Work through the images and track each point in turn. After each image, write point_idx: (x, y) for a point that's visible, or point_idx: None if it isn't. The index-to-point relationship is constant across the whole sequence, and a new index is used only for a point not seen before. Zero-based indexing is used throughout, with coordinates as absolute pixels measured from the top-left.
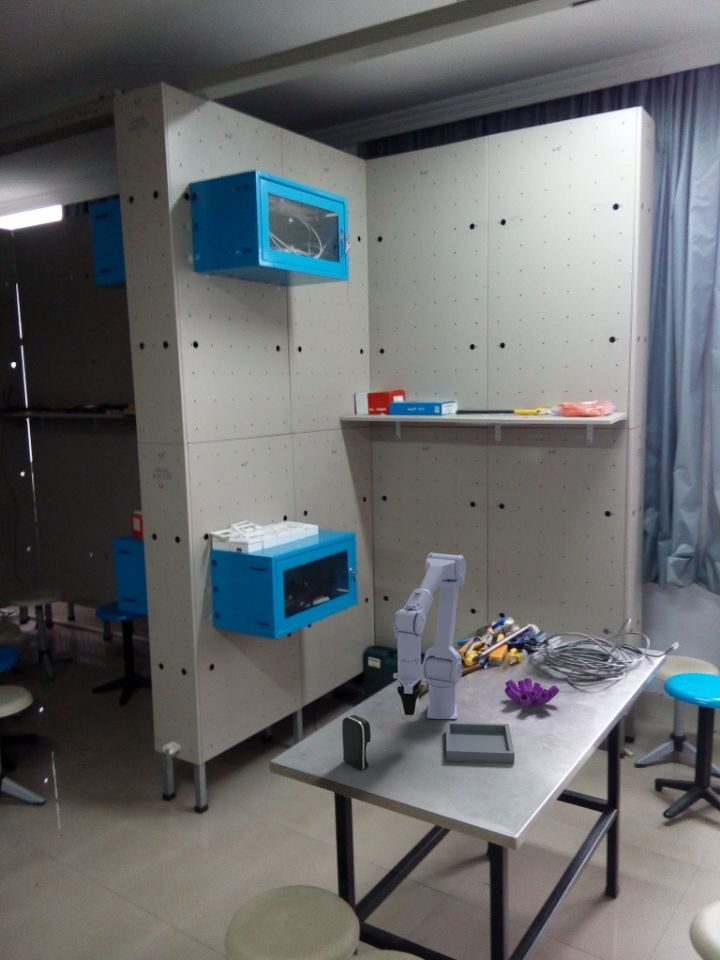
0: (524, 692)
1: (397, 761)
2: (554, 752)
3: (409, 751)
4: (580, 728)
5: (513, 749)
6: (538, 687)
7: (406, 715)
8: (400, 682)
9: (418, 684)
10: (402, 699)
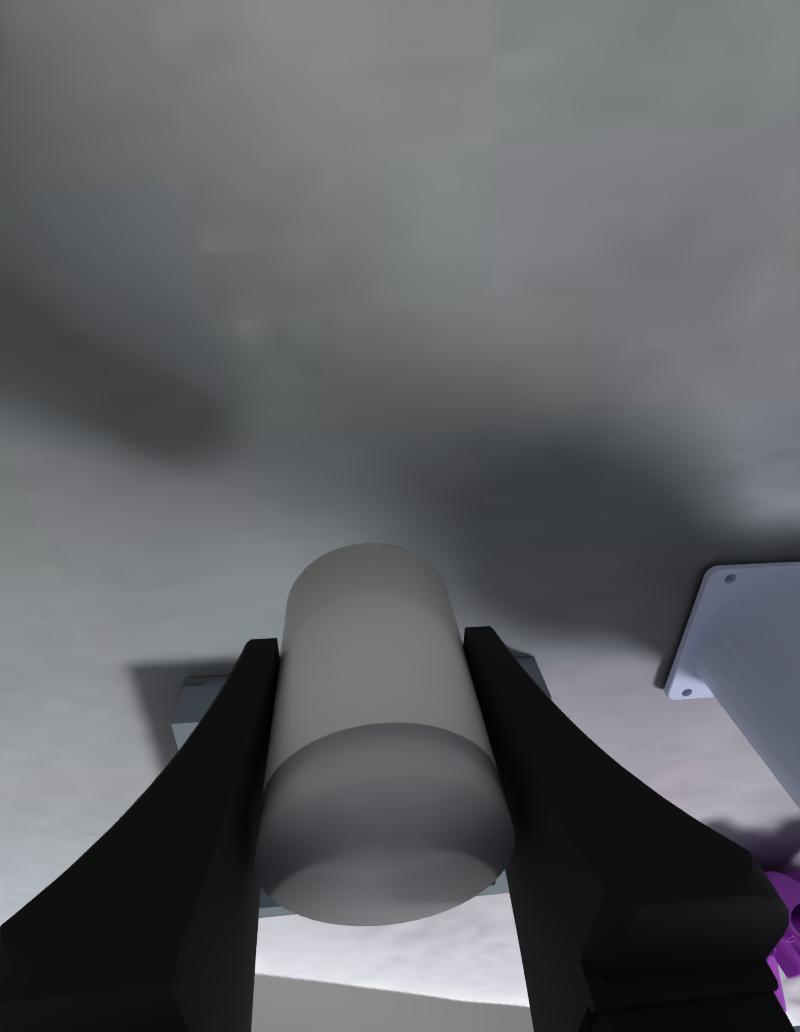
0: (787, 929)
1: (91, 433)
2: (347, 944)
3: (259, 496)
4: None
5: (262, 917)
6: (796, 973)
7: (285, 632)
8: (586, 872)
9: (532, 989)
10: (135, 811)
